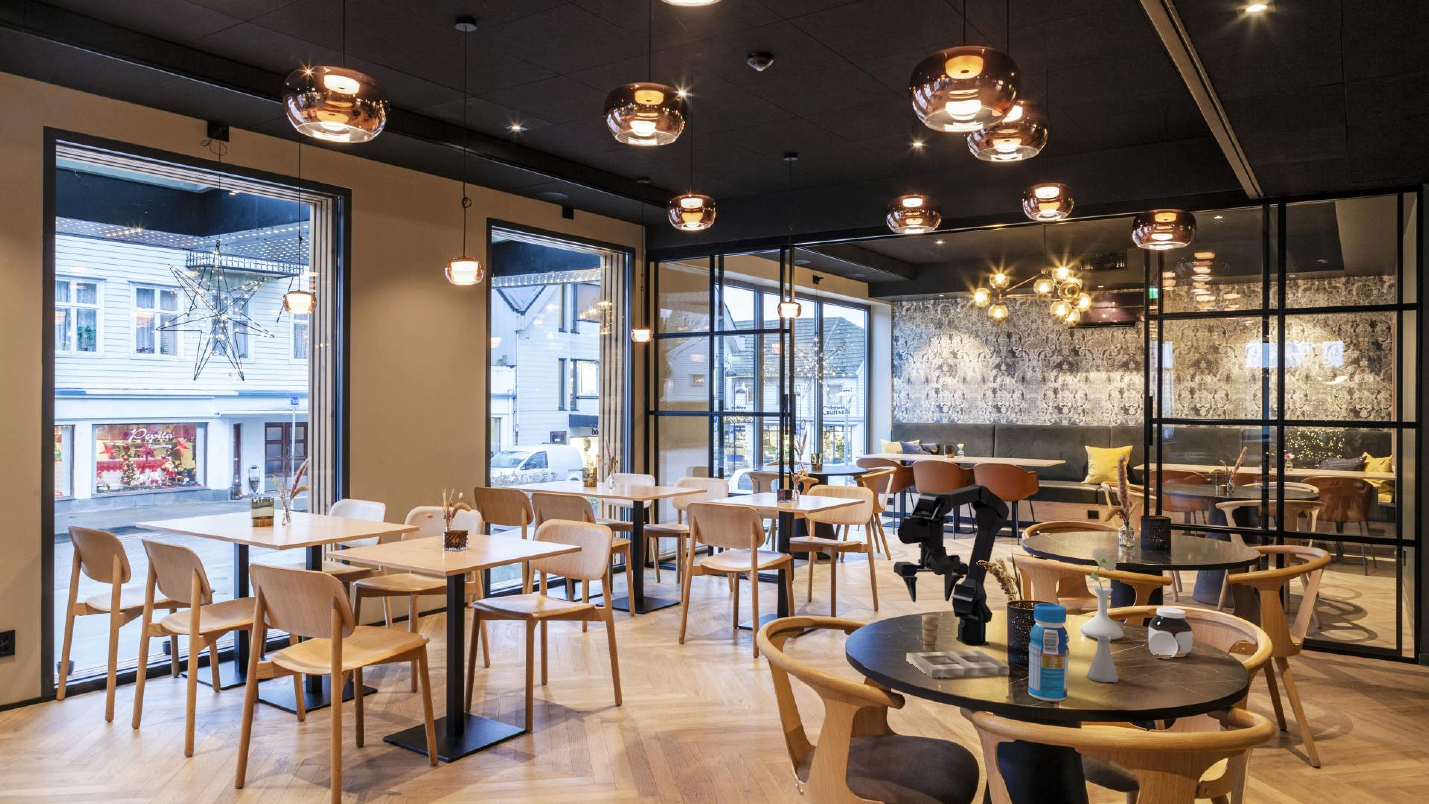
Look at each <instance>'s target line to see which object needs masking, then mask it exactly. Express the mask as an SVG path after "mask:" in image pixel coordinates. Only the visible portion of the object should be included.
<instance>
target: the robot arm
mask: <svg viewBox="0 0 1429 804" xmlns="http://www.w3.org/2000/svg"><path fill="white" fill-rule="evenodd" d="M968 504H970V507H971V508H972V509H973V510H974V512H975V514H974V520H975V523H976V527H977V531H976V536H975V540H974V543H973V546H972V547H973V548H972V550H971V555H970V557H969V563H966V562H964V561H961V556H960V555H958V554H951V555H947V549H946V548H947V547H946V546H945V545H944V539H945V538H944V536H945V535H944V534H945V533H944V532H945V530H944V529H945V524H949V523H950V520H949V519H948V518H947V517H946V515H948V514H950V513H951V512H952V510H953V509H954V508H956V507H960V506H964V505H968ZM1009 515H1010V509H1009V506H1008V505H1007V503H1006V501H1004V500H1003V499H1002V498H1001V497H1000V496H998V495H997V494H995V493H993V492H992V490H991V489H989V487H987V486H986V485H981V484H970V485H968V486H964V487H961V488H957V489H953V490H948V491H945V492H939V491H938V492H937V491H923V492H921V493H920V494H919V497H918V498H917V501H916V503H915V504H914V506H913V509H912V510H911V513H910V514H909V516H904V517H903V522H901V523H900V524H899V525H898V529H897V530H896V531H897V538H898V539H899V541H900V543H902V544H904V545H913V544H914V545H915V544H918V548H919V549H920V555H919V557H920V558H919V559H918V560H917V563H918V564H915V563H913V562H911V561H896V562H895V563H894V564H893V573H895V574H897V575H898V577H901V578H902V579H903V582H904V584H905V585H906V588H907V590H908V594H909V596H910V598H911V601H912V602H913V603H916V600H917V580H918V577H917V576H916V575H917V573H933V574H935V575H936V576H942V575H943V576H944V577H943V579H944V580H943V581H944V586H943V587H944V588H943V589H944V600H945V602H949V601H950V599H951V598H952V600H951V605H952V609H953V614H954V617H955V618H959V623H957V636H956V638H955V639H956V641H959V642H961V643H963V644H964V645H966V646H971V645H972V646H973V645H974V646H975V645H977V646H978V645H979V646H980V645H989V642H988V641H987V639H986V633H987V624H988V623H989V622H991V621H992V618H993V612H992V611H991V608H989V606H988V605H987V598H988V597H987V592H986V589H985V580H986V576H987V572H988V569H985V567H984V566H982V565H979V563H980V562H978V561H979V560H984V561H987V562H989V563H990V561H991V556H992V552H993V548H994V544H995V540H996V536H997V534H998V533H999V532H1000V531H1001V530H1002V529H1003V528H1004V527H1005V525H1006V523H1007V520H1008V518H1009ZM976 562H978V565H979V566H978V565H977V564H976ZM981 563H985V562H981ZM987 564H988V563H987ZM961 579H964V580H963V581H962V582H961V583H958V581H959V580H961Z"/></svg>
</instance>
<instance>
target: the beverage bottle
mask: <svg viewBox="0 0 1429 804" xmlns="http://www.w3.org/2000/svg"><path fill="white" fill-rule="evenodd" d="M1033 619H1034V621H1035V623H1034V625H1033V626H1032V628H1031V630H1030V632H1029V638H1030V642H1029V644H1028V651H1029V653H1028V657H1029V658H1028V659H1029V660H1028V687H1027V688H1028V689H1027V692H1028V694H1029V695H1030V696H1031V697H1032V698H1035V699H1037V700H1041V701H1045V702H1062V700H1063V701H1066V699H1067V698H1068V676H1069V675H1068V673H1069V656H1070V648H1069V646H1068V643H1069V641H1070V637H1069V634H1068V631H1067V629H1066V627H1065V626H1064V625H1065V624H1066V621H1067V608H1066V607H1065V606H1064V605H1060V604H1056V603H1046V602H1045V603H1043V602H1042V603H1037V604H1035V605H1034V606H1033Z"/></svg>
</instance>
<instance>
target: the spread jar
mask: <svg viewBox="0 0 1429 804" xmlns="http://www.w3.org/2000/svg"><path fill="white" fill-rule="evenodd" d="M1147 638H1148V639H1147V640H1148V648H1149V651H1150V653H1151V654H1152V655H1153V656H1154V655H1155V654H1159V655H1172V656H1171V657H1174V656H1175V655H1176V654H1177V653H1179V654H1180V653H1189V654H1190V653H1191V651H1192V648H1193V638H1194V637H1193V628H1192V626H1191V624H1190V622H1189V621H1188V620H1187V619H1186V611H1185V610H1183V609H1179V608H1174V607H1164V606H1163V607H1161V606H1160V607H1157V608H1156V615H1155V616H1154V617H1153V618H1152V619H1151V620H1150V622H1149V624H1148V637H1147Z"/></svg>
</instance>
